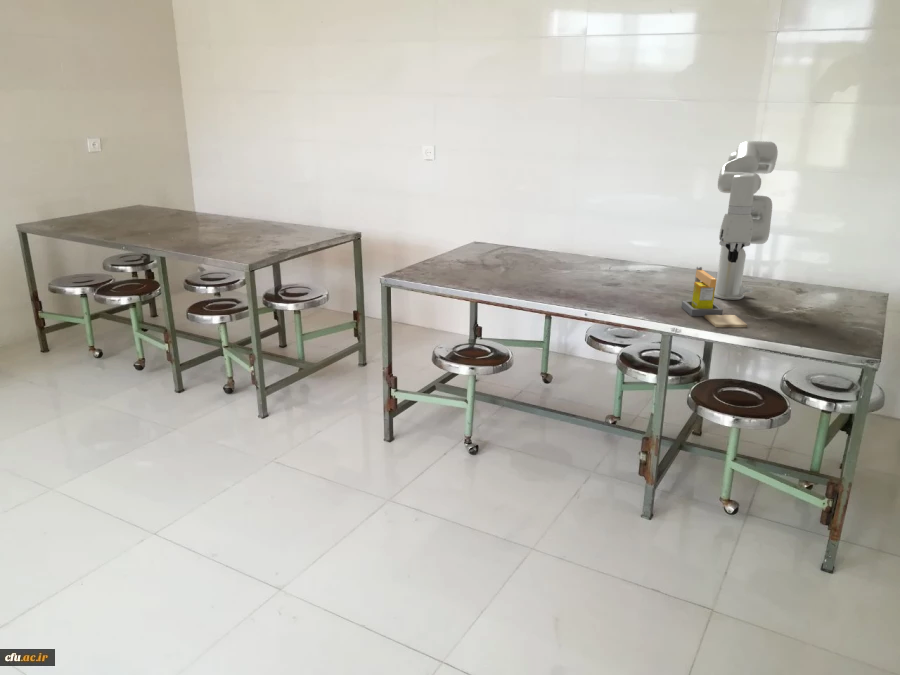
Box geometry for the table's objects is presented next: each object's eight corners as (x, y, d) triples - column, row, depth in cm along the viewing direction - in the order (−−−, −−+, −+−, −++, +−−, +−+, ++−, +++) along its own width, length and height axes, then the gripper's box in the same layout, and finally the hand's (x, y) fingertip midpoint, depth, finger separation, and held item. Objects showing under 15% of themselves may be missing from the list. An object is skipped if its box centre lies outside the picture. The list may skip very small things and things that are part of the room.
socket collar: (710, 306, 261) (711, 300, 260) (722, 316, 250) (723, 309, 249) (681, 307, 261) (682, 300, 260) (691, 316, 250) (692, 309, 249)
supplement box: (705, 309, 258) (709, 281, 254) (712, 313, 253) (716, 285, 249) (690, 309, 258) (694, 281, 254) (696, 314, 252) (700, 285, 249)
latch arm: (691, 304, 263) (695, 266, 258) (696, 304, 263) (701, 266, 258) (705, 316, 248) (711, 277, 243) (711, 316, 248) (716, 277, 243)
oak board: (734, 317, 248) (734, 314, 248) (746, 327, 238) (747, 324, 238) (704, 317, 248) (704, 314, 248) (715, 327, 238) (716, 324, 237)
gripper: (755, 209, 242) (748, 259, 247) (714, 209, 241) (707, 259, 247) (765, 212, 234) (757, 264, 240) (722, 212, 234) (715, 264, 240)
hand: (732, 261), depth 244 cm, fingers closed
